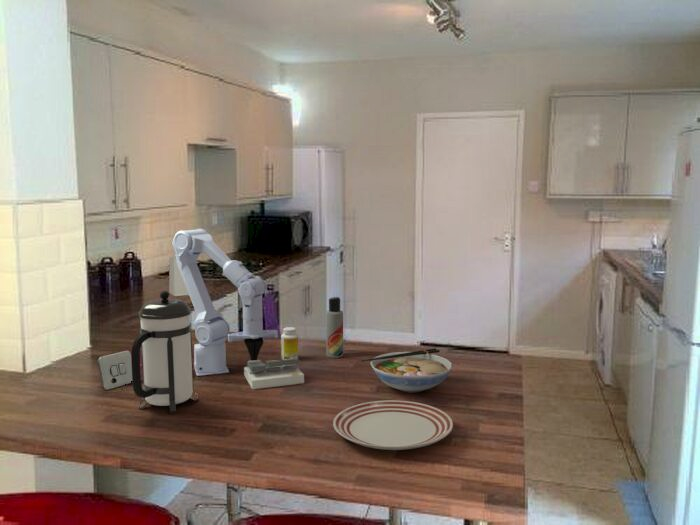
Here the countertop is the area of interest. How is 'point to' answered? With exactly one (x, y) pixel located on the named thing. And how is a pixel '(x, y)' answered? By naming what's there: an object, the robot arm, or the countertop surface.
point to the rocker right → (290, 361)
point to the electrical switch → (115, 369)
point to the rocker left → (256, 365)
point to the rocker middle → (273, 363)
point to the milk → (176, 278)
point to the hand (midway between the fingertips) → (253, 362)
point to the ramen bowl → (411, 369)
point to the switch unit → (274, 376)
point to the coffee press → (164, 353)
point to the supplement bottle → (289, 343)
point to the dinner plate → (393, 424)
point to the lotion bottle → (334, 329)
